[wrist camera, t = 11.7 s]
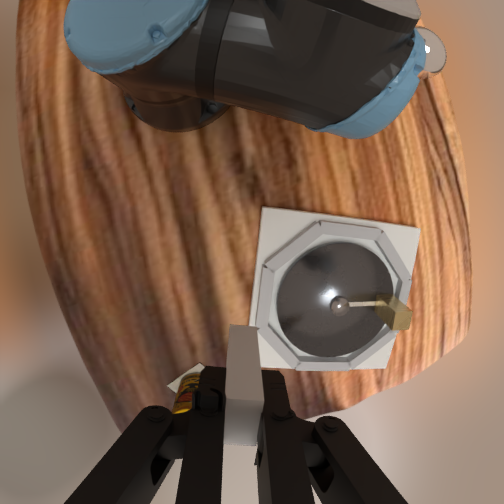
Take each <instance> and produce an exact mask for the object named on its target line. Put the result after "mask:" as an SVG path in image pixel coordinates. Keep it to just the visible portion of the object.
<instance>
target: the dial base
mask: <svg viewBox="0 0 504 504" xmlns="http://www.w3.org/2000/svg"><path fill="white" fill-rule="evenodd" d="M420 230H421V229H420V228H417V227H414V226H407V225H401V224H395V223H388V222H382V221H375V220H368V219H361V218H354V217H347V216H339V215H332V214H324V213H316V212H308V211H300V210H292V209H283V208H274V207H265V206H262V210H261V219H260V228H259V237H258V246H257V255H256V263H255V272H254V281H253V290H252V298H251V307H250V316H249V324H248V326H256V327H257V334H258V344H259V354H260V364H261V367H270V368H291V369H296V370H301V371H349V370H350V369H352V370H353V369H383V368H386V366H387V363H388V360H389V357H390V354H391V350H392V347H393V344H394V341H395V337H396V334H397V333H399V330H396V331H392V330H391V329H390V328H389V327H388V326H387V325H386V324H384V326H383V328H382V329H381V330H380V332H379V333H378V334H377V335H376V336H375V337H374V338H373V339H372V340H371V341H370V342H369V343H367V344H366V345H365V346H363V347H362V348H360V349H358V350H356V351H354V352H352V353H349V354H346V355H343V356H338V357H318V356H313V355H310V354H307V353H305V352H303V351H301V350H299V349H298V348H297V347H295V346H294V345H293V344H292V343H291V342H290V341H289V340H288V339H287V337H286V336H285V335H284V333H283V331H282V329H281V327H280V324H279V321H278V316H277V311H276V299H277V293H278V289H279V286H280V283H281V281H282V278H283V277H284V275H285V273H286V271H287V270H288V269H289V267H290V266H291V265H292V264H293V263H294V262H295V261H296V260H297V259H298V258H299V257H300V256H301V255H303V254H304V253H306V252H307V251H309V250H310V249H312V248H315V247H317V246H319V245H322V244H325V243H330V242H350V243H355V244H358V245H360V246H363V247H365V248H367V249H368V250H370V251H372V252H373V253H374V254H376V255H377V256H378V257H379V258H380V259H381V260H382V261H383V262H384V264H385V265H386V267H387V269H388V271H389V273H390V275H391V279H392V283H393V293H394V296H395V297H396V298H398V299H399V300H400V301H401V302H402V303H403V304H405V305H406V304H407V300H408V296H409V292H410V288H411V283H412V280H411V276H412V272H413V267H414V262H415V257H416V252H417V247H418V242H419V236H420Z"/></svg>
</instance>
